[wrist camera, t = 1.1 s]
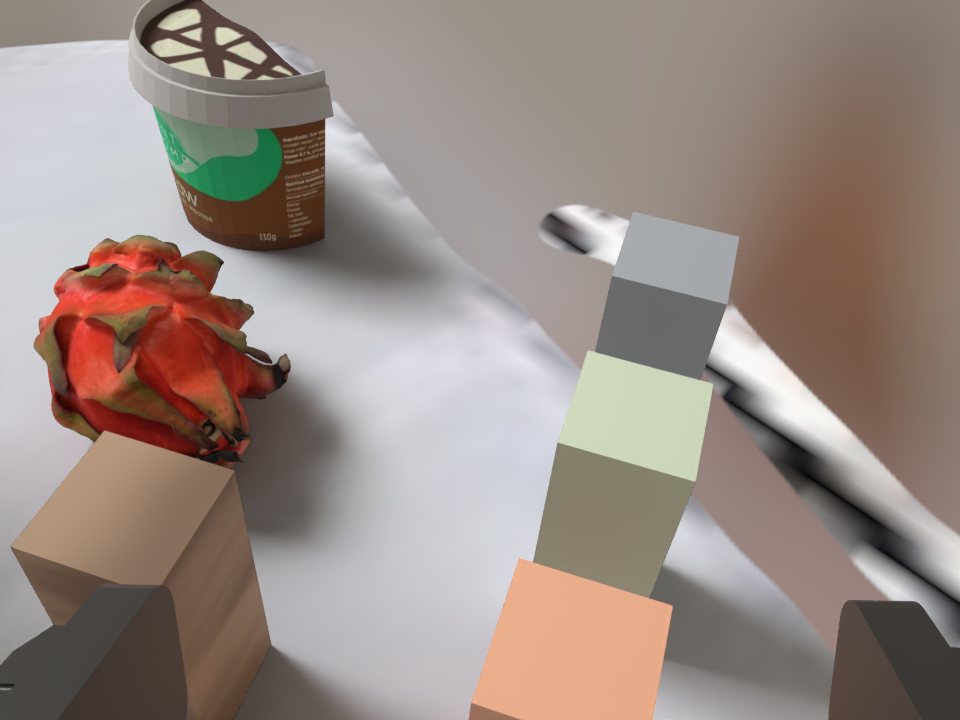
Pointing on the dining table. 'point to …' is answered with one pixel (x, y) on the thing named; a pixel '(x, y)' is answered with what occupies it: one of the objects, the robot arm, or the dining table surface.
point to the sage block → (622, 472)
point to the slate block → (667, 295)
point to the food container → (233, 126)
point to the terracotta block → (572, 651)
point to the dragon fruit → (154, 351)
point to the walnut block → (157, 557)
